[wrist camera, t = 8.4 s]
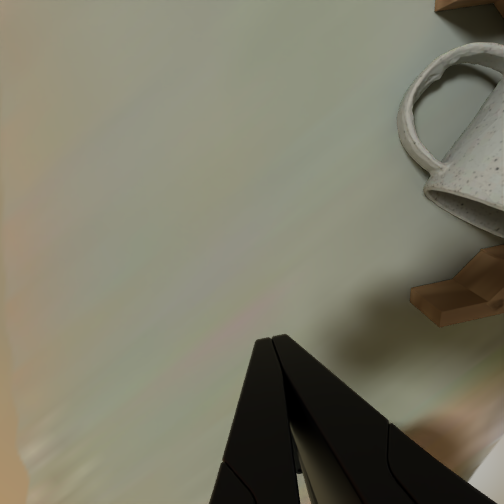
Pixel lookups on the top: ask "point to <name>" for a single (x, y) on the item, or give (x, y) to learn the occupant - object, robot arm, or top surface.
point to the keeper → (476, 271)
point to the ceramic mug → (464, 145)
